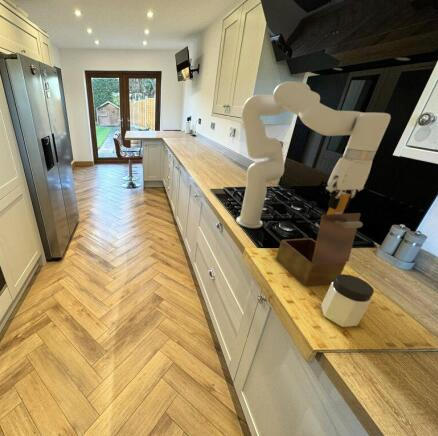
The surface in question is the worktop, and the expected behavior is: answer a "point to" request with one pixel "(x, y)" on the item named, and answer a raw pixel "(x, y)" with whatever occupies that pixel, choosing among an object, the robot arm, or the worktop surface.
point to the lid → (336, 237)
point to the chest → (306, 262)
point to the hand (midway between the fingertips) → (337, 206)
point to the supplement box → (340, 204)
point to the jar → (347, 300)
